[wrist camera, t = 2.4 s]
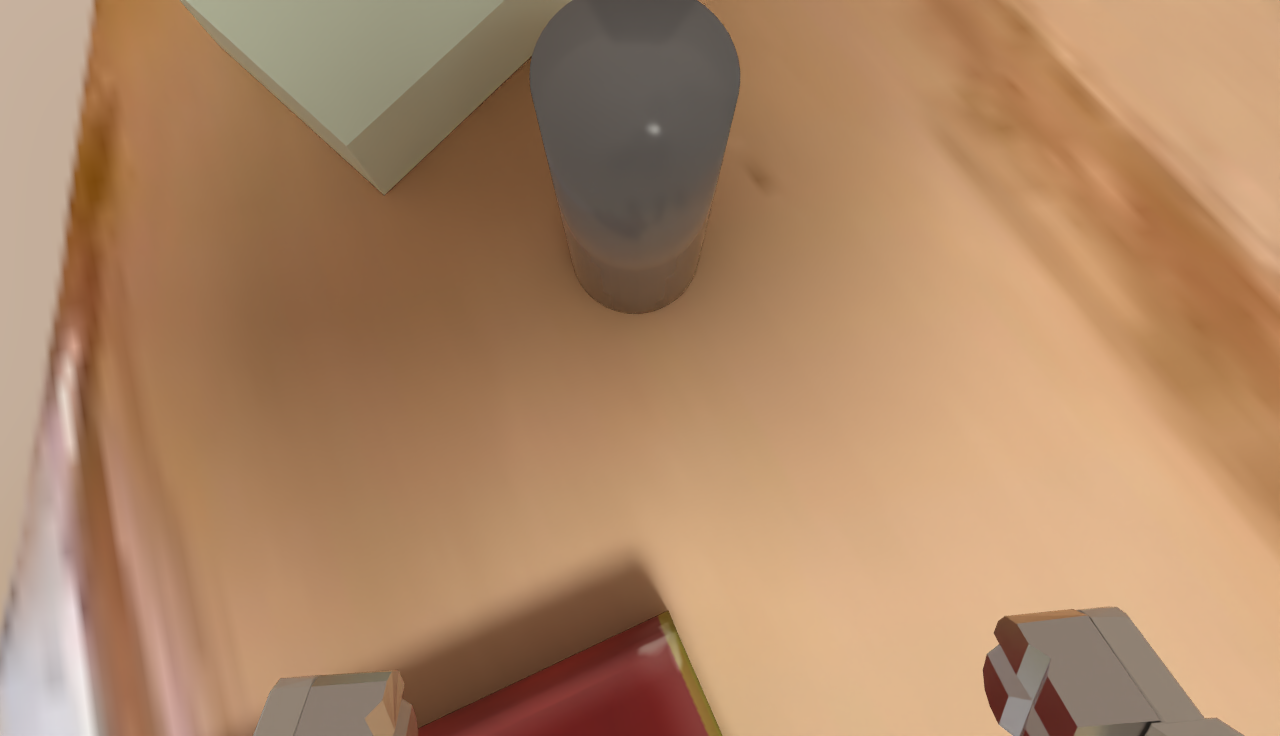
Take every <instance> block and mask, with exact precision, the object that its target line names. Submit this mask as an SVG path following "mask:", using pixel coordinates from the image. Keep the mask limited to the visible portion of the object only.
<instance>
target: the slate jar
mask: <svg viewBox="0 0 1280 736" xmlns="http://www.w3.org/2000/svg"><path fill="white" fill-rule="evenodd" d="M739 87H740V67H739V60H738V56H737V53H736V49H735V46H734V44H733V42H732V39H731V37H730V35H729V33H728V32H727V30H726V29H725V27H724V26H723V24H722V23H721V22H720V21H719V19H718V18H717V17H716V16H715V15H714V14H713V13H712V12H711V11H710V10H709V9H708V8H707V7H706V6H704V5H703V4H702V3H700V2H699V1H697V0H572V1H571V2H569V3H568V4H566V5H565V6H564V7H563V8H562V9H560V10H559V11H558V12H557V13H556V14H555V15H554V16H553V18H552V19H551V20H550V21H549V22H548V24H547V25H546V27H545V28H544V29H543V31H542V33H541V35H540V37H539V38H538V40H537V43H536V45H535V48H534V51H533V54H532V59H531V64H530V89H531V94H532V98H533V102H534V107H535V111H536V115H537V119H538V123H539V127H540V131H541V135H542V139H543V144H544V148H545V152H546V156H547V160H548V164H549V168H550V172H551V177H552V181H553V185H554V189H555V193H556V197H557V201H558V205H559V209H560V214H561V218H562V222H563V226H564V230H565V234H566V238H567V242H568V247H569V251H570V255H571V259H572V263H573V267H574V271H575V274H576V276H577V278H578V280H579V282H580V284H581V285H582V287H583V288H584V289H585V291H586V292H587V293H588V294H589V295H590V296H591V297H592V298H593V299H595V300H596V301H597V302H598V303H600V304H602V305H604V306H605V307H608V308H610V309H612V310H615V311H619V312H624V313H634V314H639V313H647V312H651V311H655V310H658V309H661V308H663V307H665V306H667V305H669V304H670V303H672V302H673V301H675V300H676V299H677V298H678V297H679V296H680V295H682V294H683V292H684V291H685V290H686V289H687V288H688V286H689V284H690V283H691V281H692V279H693V277H694V275H695V272H696V268H697V265H698V261H699V257H700V252H701V248H702V244H703V240H704V236H705V232H706V227H707V223H708V219H709V215H710V211H711V207H712V202H713V198H714V194H715V190H716V186H717V182H718V177H719V173H720V169H721V165H722V161H723V157H724V152H725V148H726V144H727V140H728V136H729V132H730V128H731V123H732V119H733V115H734V111H735V107H736V103H737V98H738V94H739Z"/></svg>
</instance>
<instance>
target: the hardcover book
mask: <svg viewBox="0 0 1280 736" xmlns="http://www.w3.org/2000/svg"><path fill="white" fill-rule="evenodd" d="M418 736H722V734H721V731H720V729H719V727H718V724H717V722H716V720H715V718H714V715H713V713H712V711H711V708H710V706H709V704H708V702H707V699H706V697H705V695H704V692H703V690H702V688H701V686H700V683H699V681H698V679H697V676H696V674H695V672H694V670H693V667H692V665H691V663H690V660H689V658H688V656H687V654H686V651H685V649H684V647H683V644H682V642H681V640H680V638H679V635H678V633H677V630H676V628H675V626H674V623H673V620H672V618H671V616H670V613H669V611H666V612H664V613H662V614H660V615H658V616H656V617H654V618H651V619H649V620H647V621H645V622H643V623H641V624H639V625H637V626H635V627H632V628H630V629H628V630H626V631H624V632H622V633H620V634H618V635H615V636H613V637H611V638H609V639H607V640H605V641H603V642H601V643H599V644H596V645H594V646H592V647H590V648H588V649H586V650H584V651H582V652H579V653H577V654H575V655H573V656H571V657H569V658H567V659H565V660H562V661H560V662H558V663H556V664H554V665H552V666H550V667H548V668H546V669H543V670H541V671H539V672H537V673H535V674H533V675H531V676H529V677H526V678H524V679H522V680H520V681H518V682H516V683H514V684H512V685H509V686H507V687H505V688H503V689H501V690H499V691H497V692H495V693H493V694H490V695H488V696H486V697H484V698H482V699H480V700H478V701H476V702H473V703H471V704H469V705H467V706H465V707H463V708H461V709H459V710H457V711H454V712H452V713H450V714H448V715H446V716H444V717H442V718H440V719H437V720H435V721H433V722H431V723H429V724H427V725H425V726H423V727H420V728H418Z"/></svg>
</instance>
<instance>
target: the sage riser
mask: <svg viewBox="0 0 1280 736" xmlns="http://www.w3.org/2000/svg"><path fill="white" fill-rule="evenodd" d="M180 1H181V2H182V4H183V5H184V6H185V7H186V8H187V9H188V10H189V12H190V13H191V14H192V15H193V16H194V17H195V18H196V20H197V21H198V22H199V23H200V24H201V25H202V27H203V28H204V29H205V30H206V31H207V32H208V33H209V35H210V36H211V37H212V38H213V39H214V40H215V41H216V43H217V44H218V45H219V46H220V47H222V48H223V49H224V50H225V51H226V52H227V53H228V54H229V55H230V56H232V57H233V58H234V59H235V60H236V61H237V62H238V63H239V64H240V65H241V66H243V67H244V68H245V69H246V70H247V71H248V72H249V73H250V74H251V75H252V76H254V77H255V78H256V79H257V80H258V81H259V82H260V83H261V84H262V85H263V86H265V87H266V88H267V89H268V90H269V91H270V92H271V93H272V94H273V95H274V96H276V97H277V98H278V99H279V100H280V101H281V102H282V103H283V104H284V105H285V106H287V107H288V108H289V109H290V110H291V111H292V112H293V113H294V114H295V115H296V116H298V117H299V118H300V119H301V120H302V121H303V122H304V123H305V124H306V125H307V126H309V127H310V128H311V129H312V130H313V131H314V132H315V133H316V134H317V135H318V136H320V137H321V138H322V139H323V140H324V141H325V142H326V143H327V144H328V145H329V146H331V147H332V148H333V149H334V150H335V151H336V152H337V153H338V154H339V155H340V156H342V157H343V158H344V159H345V160H346V161H347V162H348V163H349V164H350V165H351V166H353V167H354V168H355V169H356V170H357V171H358V172H359V173H360V174H361V175H362V176H364V177H365V178H366V179H367V180H368V181H369V182H370V183H371V184H372V185H373V186H375V187H376V188H377V189H378V190H379V191H380V192H381V193H382V194H383V195H385V194H386V193H387V192H388V191H389V190H391V189H392V188H393V187H394V186H395V185H396V184H397V183H398V182H399V181H400V180H401V179H402V178H403V177H404V176H405V175H406V174H407V173H408V172H410V171H411V170H412V169H413V168H414V167H415V166H416V165H417V164H418V163H419V162H420V161H421V160H422V159H423V158H424V157H425V156H426V155H427V154H429V153H430V152H431V151H432V150H433V149H434V148H435V147H436V146H437V145H438V144H439V143H440V142H441V141H442V140H443V139H444V138H445V137H446V136H448V135H449V134H450V133H451V132H452V131H453V130H454V129H455V128H456V127H457V126H458V125H459V124H460V123H461V122H462V121H463V120H464V119H465V118H467V117H468V116H469V115H470V114H471V113H472V112H473V111H474V110H475V109H476V108H477V107H478V106H479V105H480V104H481V103H482V102H483V101H485V100H486V99H487V98H488V97H489V96H490V95H491V94H492V93H493V92H494V91H495V90H496V89H497V88H498V87H499V86H500V85H501V84H502V83H504V82H505V81H506V80H507V79H508V78H509V77H510V76H511V75H512V74H513V73H514V72H515V71H516V70H517V69H518V68H519V67H520V66H521V65H523V64H524V63H525V62H526V61H527V60H528V59H529V58H530V57H531V56H532V54H533V51H534V48H535V45H536V43H537V40H538V38H539V37H540V35H541V33H542V31H543V29H544V28H545V27H546V25H547V24H548V22H549V21H550V20H551V19H552V18H553V16H554V15H555V14H556V13H557V12H558V11H559V10H560V9H562V8H563V7H564V6H565V5H566V4H568V3H569V2H571V1H572V0H180Z"/></svg>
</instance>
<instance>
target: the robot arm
mask: <svg viewBox="0 0 1280 736" xmlns="http://www.w3.org/2000/svg"><path fill="white" fill-rule="evenodd" d="M994 635H995V636H996V638H997V640H998V642H999V645H998V646H996V647H995V648H994V649H993V650H991V651H990V652H989V653H988V654H987V656H986V660H985V664H984V668H983V676H984V686H985V692H986V695H987V698H988V701H989V704H990V707H991V709H992V711H993V713H994V716H995V718H996V720H997V722H998V724H999V725H1000V726H1001V727H1003V728H1004V729H1005V730H1007V731H1008V732H1009V733H1010V734H1012V735H1013V736H1244V735H1243V734H1241V733H1240V732H1238V731H1237V730H1235V729H1233V728H1232V727H1230V726H1229V725H1227V724H1226V723H1224V722H1222V721H1221V720H1219V719H1218V718H1204V716H1203V715H1202V714H1201V712H1200V711H1199V710H1198V708H1197V707H1196V706H1195V704H1194V703H1193V702H1192V700H1191V699H1190V698H1189V696H1188V695H1187V694H1186V692H1185V691H1184V690H1183V688H1182V687H1181V686H1180V684H1179V683H1178V682H1177V680H1176V679H1175V678H1174V676H1173V675H1172V674H1171V672H1170V671H1169V670H1168V668H1167V667H1166V666H1165V664H1164V663H1163V662H1162V660H1161V659H1160V658H1159V656H1158V655H1157V654H1156V652H1155V651H1154V650H1153V648H1152V647H1151V646H1150V644H1149V643H1148V642H1147V640H1146V639H1145V638H1144V636H1143V635H1142V634H1141V632H1140V631H1139V630H1138V629H1137V627H1136V626H1135V625H1134V623H1133V622H1132V621H1131V619H1130V618H1129V617H1128V615H1127V614H1126V613H1125V612H1123V611H1122V610H1120V609H1119V608H1117V607H1100V608H1091V609H1082V610H1074V609H1069V610H1059V611H1049V612H1040V613H1030V614H1021V615H1011V616H1004V617H1003V618H1002V619H1000V620H999V621H998V623H997V626H996V628H995V631H994ZM404 686H405V684H404V682H403V679H402V677H401V675H400V673H399V670H389V671H375V672H361V673H347V674H333V675H315V676H303V677H292V678H280V679H279V681H278V682H277V683H276V685H275V686H274V687H273V689H272V690H271V691H270V693H269V696H268V699H267V701H266V704H265V706H264V709H263V711H262V714H261V717H260V719H259V722H258V724H257V727H256V729H255V732H254V735H253V736H418V727H417V720H416V714H415V712H414V709H413V706H412V704H410V703H409V702H407V701H405V700H404V699H402V695H403V690H404Z"/></svg>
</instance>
